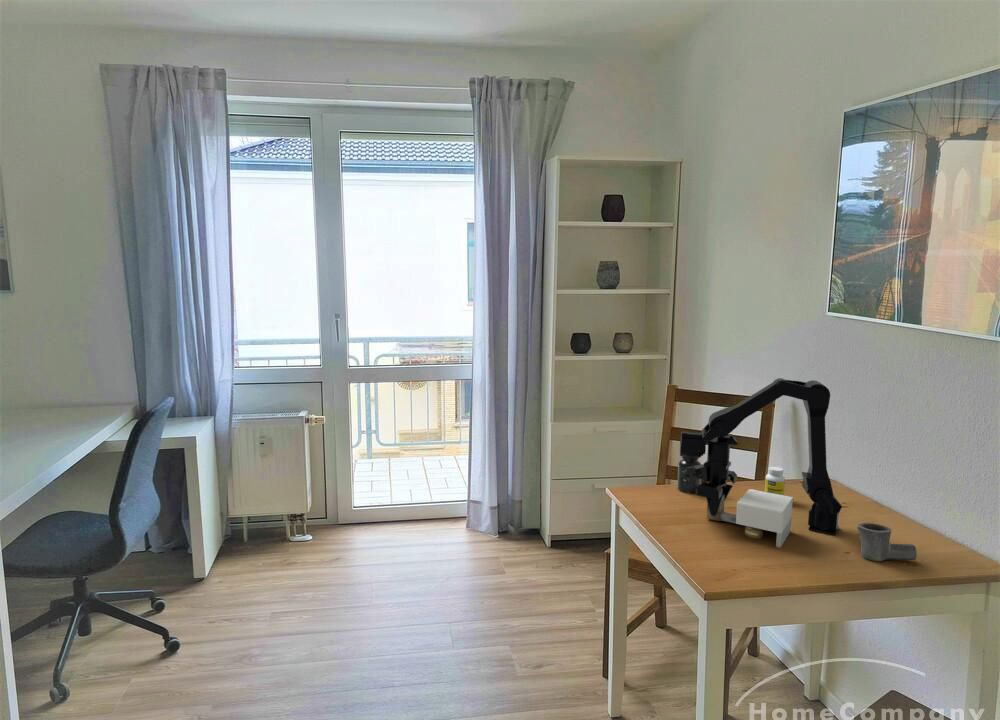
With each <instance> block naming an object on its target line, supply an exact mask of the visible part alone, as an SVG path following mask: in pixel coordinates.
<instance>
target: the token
mask: <svg viewBox="0 0 1000 720" xmlns="http://www.w3.org/2000/svg"><path fill="white" fill-rule="evenodd" d="M763 534H764V530H763V529H759V528H754V527H749V526H744V535H745V536H746V537H748V538H750V539H761V537H762V538H763V537H764V536H763Z"/></svg>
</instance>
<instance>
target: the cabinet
mask: <svg viewBox="0 0 1000 720" xmlns="http://www.w3.org/2000/svg"><path fill="white" fill-rule="evenodd" d="M793 501H794V496H789V495H785V494H784V495H779V494H773V493H768V492H765V491H762V490H756V489H752V488H751V489H750V488H749V489H748V490H747V491H746V492H745V493H744V494H743V495H742V496H741V497H740V498H739V499H738V500H737V502H736V523H735V524H737V525H740V526H744V527H746V526H749V527H754V528H759V529H763V531H769V532H773V533H776V543H775V548H778V547H779V549H780V547H782V545H784V543H785V541H786V539H787V538H788V536H789V535H790V533H791V528H792V515H793Z"/></svg>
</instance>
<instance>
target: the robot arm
mask: <svg viewBox="0 0 1000 720" xmlns="http://www.w3.org/2000/svg"><path fill="white" fill-rule="evenodd" d="M783 396H786V397H791V398H794V399H797V400H802V402H803V405H804V406H803V407H804V408H805V409H804V410H805V412H806V416H807V437H808V441H807V442H808V469H807V471H802V472H801V475H802V483H801V487H802V488H803V490H804V491H805V493H806V494H807V495H808V497H809V499H810V500H811V502H813V503H812V505H811V508H810V509H809V510H808V519H807V520H808V522H807V525H808V526H809V527H808V530H809V531H814V532H818V533H822V534H829V535H834V536H836V535H837V533H838V531H839V529H840V526H839V517H840V512H841V510H842V507H843V506H842V504H841V503H840V501H839V500H838V499H837V497H836V496H835V495H834V490H833V486H832V483H831V479H830V476H829V472H828V469H827V468H828V467H827V440H826V438H827V437H826V416H827V412H828V410H829V406H830V400H831V391H830V389H829V388H828V387H827V386H826V385H824V384H823V383H822V382H820V381H818V380H809V381H805V382H804V381H800V380H790V379H785V378H782V377H781V378H775V379H774V381H773V382H770V384H768V385H766V386H764V387H763V388H762V389H759V390H758V391H757V392H755V393H753V394H751V395H750V396H748V397H747V398H744V399H743V400H742V401H740V402H739V403H737V404H735V405H731V406H729V407H725V408H722V409H720V410H718V411H715V412H713V413H712V414H710V415H709V417H708V423H707V424H706V425H705V426H704V427H703V428H702V429H701V431H700V432H690V431H689V432H688V431H680V432H681V434H680V441H679V457H682V456H684V457H699V458H702V457H703V456H704V455H706V449H707V457H706V461H705V462H704V463H703V464H701V465H696V466H691V467H688V468H687V469H686V470H685V475H684V476H685V477H687V479H688V481H692V480H696V479H702V482H700V485H698V486H697V487H696V493H694V494H695V495H696V496H698V497H703V498H706V501H707V502H708V505H709V509H710V513H711V515H712V516H715V515H716V513H717V511H718V509H719V506H720V504H721V502H722V500H723V498H724V496H725V500H724V503H725V501H726V500H727V498H728V497H729V494H730V492H731V490H732V489H733V487H734V485H732V484H736V483H737V482H738V474H737V473H736V472H735V471H734V470H733V471H732V470H730V468H729V467H731V466H732V462H731V461H730V452H731V451H730V449H731V445H732V446H733V445H735V446H737V445H738V444H739V442H738V440H737V438H736V437H734V436H733V434H732V432H733V431H734V430H735V429H737V427H738V426H739V425H741V423H742V422H743V421H744V420H745V419H747V417H750V416H751V415H754V414H755V413H756V412H758V411H760V410H762V409H763V408H765V407H767V406H768V405H769V404H772V403H773V402H774V401H776V400H778V399H779V398H781V397H783ZM706 447H707V448H706ZM730 481H731V484H729V483H728V482H730Z"/></svg>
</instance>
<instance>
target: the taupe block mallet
mask: <svg viewBox="0 0 1000 720" xmlns="http://www.w3.org/2000/svg"><path fill="white" fill-rule="evenodd" d="M724 500H725V496H724V498H723V500H722V502H721V504H720V506H719V509H718V511H717V513H716V515H715V516H712V515H711V513H710V509H709V505H708V502H707V503H706V504H707V505H706V506H707V508H706V519H707V520H712V521H718V522H720V521H721V522H722V521H723V522H726V523H727V522H728V523H732V524H736V514H735V513H731V512H725V502H724ZM725 501H726V500H725Z"/></svg>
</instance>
